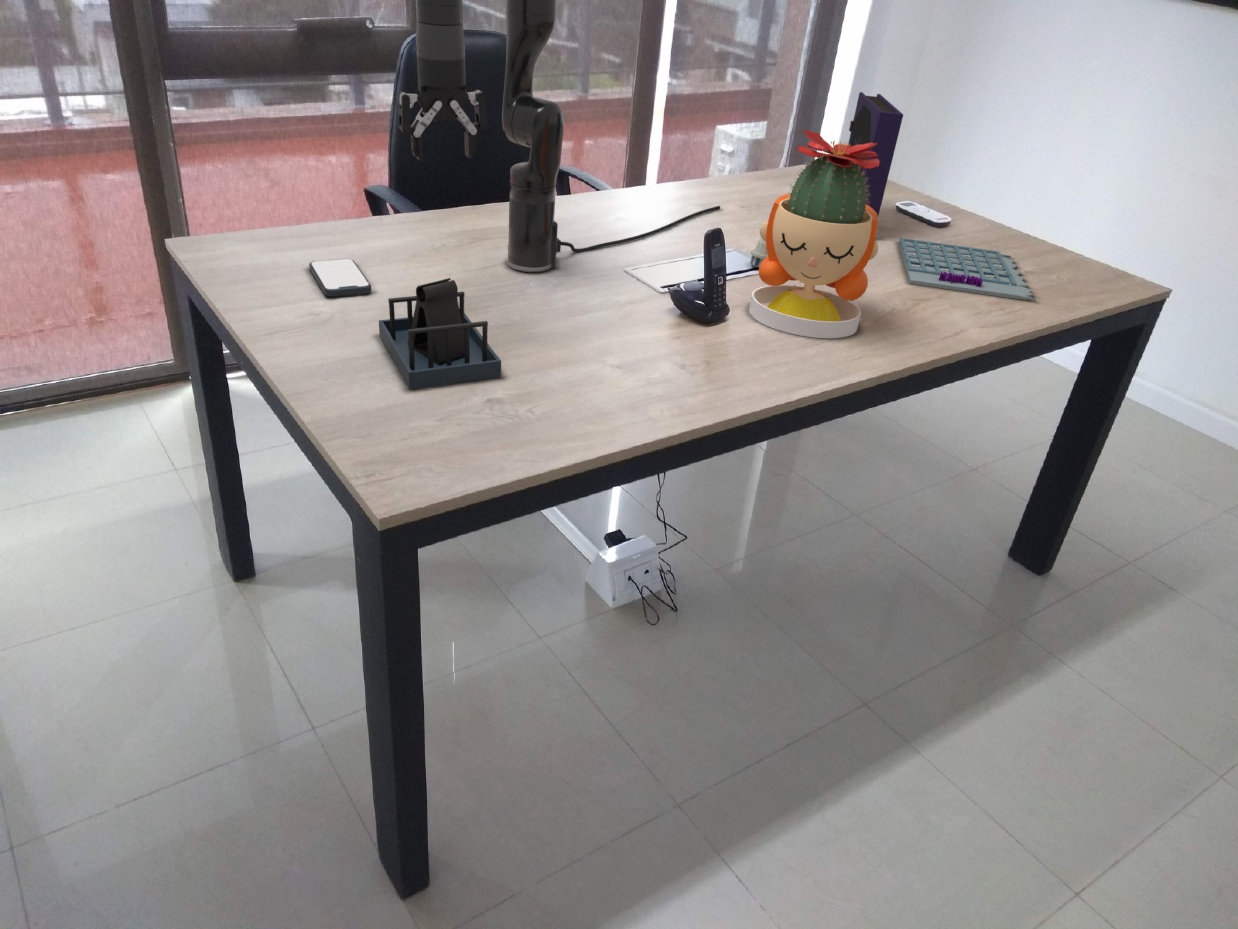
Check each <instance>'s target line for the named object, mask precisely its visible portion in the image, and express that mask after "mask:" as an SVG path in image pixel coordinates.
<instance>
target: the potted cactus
mask: <svg viewBox="0 0 1238 929" xmlns="http://www.w3.org/2000/svg"><path fill="white" fill-rule="evenodd" d="M802 133H804V135H805V137H806V138H808V139H809V140H810V141H809V142H808V143H806V144H807V147H806V146H804V145H803V146H802V145H800V146H798V147H797V149H796V150H797V151H798V152H800V153H802V154H803V155H806V156H807V157H811V158H810V159H809V160H806V161H805V162H804V163H803V164H804V165H803V167H801V171H800V170H797V172H796V173H795V175H796V176H795V178H794V179H793V181H791V182H792V183H794V186H793V185H792V184H789V187H790V188H789V191H791V192H788V193H785V194H783V195H781V196H779V197H778V198H776V199H775V200H774V202H773V205H772V207H771V211H770V212H769V215H768V216H769V217H768V220H767V221H764V222H763V223H762V224H761V225H760V228H759V235H760V238H762V239H763V240H764V241H766V248H767V253H768V257H766V258H765V259H764V260H763V261H762V263H761V264H760V267H758V275H759V279H760V280H761V282H762V283H764V284H765V286H761V287H760V286H759V287H758V288H755V289H754V290H753V291H752V292H751V297H750V302H749V308H748V312H749V315H750V316H751V317H752V318H753V319H754V320H755V321H757V322H759V323H760V324H762V325H765V326H766V327H769V328H772V329H775V330H777V331H780V332H783V333H786V334H790V335H794V336H795V335H796V336H801V337H805V338H814V339H815V338H817V339H841V338H847V337H850V336H852V335H854V334H855V333H857V331H858V327H859V323H860V321H861V320H860V319H861V315H862V310H861V309H860V307H859V306H858V305H857V304H855V303H854V302H852V301H856V300H858V299H859V298H861V297H862V296H864V294H865V292H866V291H867V288H868V286H869V279H868V276H867V273H866V272H865V270H864V269H865V268H866V267H867V265H868V263H869V261H870V260H873V259H874V258H875V257H876V256H877V255H878V252H879V244H878V242H877V241H876V238H877V234H878V227H879V226H878V225H879V216H878V215H877V213H876V212H875V211H874V210H873V209H872V208H871V207H870V206H868V205H866V203H867V201H869V200H867V198H868V197H867V198H866V196H868V195H869V197H871V195H870V194H869V193H868V194H866V192H867V191H866V188H867V187H868V186H867V185H868V184H867V185H865V182H866V181H865V180H866V179H868V178H866V179H864V178H863V175H862V174H864V172H863V171H862V173H861V171H860V170H859V169H861V168H860V167H859V166H861V167H863V168H868V169H871V168H875V167H879V159H870V160H862V159H866V158H872V157H877V156H878V155H876V152H871V151H868V150H870V149H872V148H873V147H875V146H876V145H877V143H867V144H863V145H855V146H851V147H850V144H849V145H848V141H846V142H845V141H843V143H842V140H840V141H839V143H836V144H835V142H836V140H831V141H830V143H829V142H827V141H826V139H824V138H823V137H822V136H821V134H820V133H819V132H815V131H811V130H808V129H804V130H803V131H802ZM809 161H810V162H809ZM855 164H858V165H859V166H858V167H857V166H856V165H855ZM866 177H867V176H866ZM867 183H868V181H867ZM866 186H867V187H866ZM869 191H870V190H869ZM866 200H867V201H866ZM868 204H869V203H868ZM789 281H792V282H793V281H794V282H795V281H798V282H800V283H802V284H804V285H803V286H797V285H787V284H786V283H787V282H789ZM785 284H786V285H785ZM824 285H825V286H827V287H828V288H832V289H834V290H835V292H836V294H837V295H836V294H834V293H831V292H829V291H824V290H820V289H816V286H824Z"/></svg>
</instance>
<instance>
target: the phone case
mask: <svg viewBox="0 0 1238 929" xmlns="http://www.w3.org/2000/svg"><path fill="white" fill-rule="evenodd" d="M308 266H309V270H310V272H311V274H312V275H313V277H314V279H315V280H316V282H317V284H318V286H319V287H320V289H321V291H322V293H323V294H324V296H326V297H339V296H352V295H361V294H369V293H371V291H372V285H371V283H370V281H369V280H368V279H367V277H366V276H365V274H364V273H363V272H362V270H361V269H360V267H359V266H358V264H357V263H356V261H355V260H354V259H352V258H340V259H339V258H337V259H328V260H317V261H316V260H315V261H311V262H309V264H308Z"/></svg>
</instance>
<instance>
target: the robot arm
mask: <svg viewBox="0 0 1238 929" xmlns="http://www.w3.org/2000/svg"><path fill="white" fill-rule="evenodd" d="M415 11H416V12H415V13H416V14H415V15H416V30H415V52H416V67H417V68H416V69H417V70H416V71H417V91H416V93H406V92H405V91H403V90H402V91H401V90H400V91H399V93H398V94H397V96H398V102H397V103H398V104H397V105H398V112H397V113H398V117H397V118H398V119H397V120H398V122H397V123H398V124H397V125H398V129H399V130H400V131H401V132H402V133H403V134H405V135H409V136H410V150H411V153H412V155H413V156H414V157H415V158H416V160H418V161H423V160H424V149H423V148H424V147H423V137H422V134H423V133H424V131H425V129H426V128H428V127H429V126H430V124H431V122H432V121H434V122H436V123H439V122H444V121H447V122H455V120H458V121H459V122H460V124H461V125H462V126H463V128H464V129H465V131H464V133H463V137H464V155H465V157H467V158H468V159H469V158H473V157H474V154H476V152H477V134H478V133H479V132H481V131H486V130H487V129H488V120H487V119H488V118H487V117H488V116H487V104H486V103H487V102H486V94H485V93H484V92H483V91H482V90H479V89H474V91H467V89H466V88H467V87H466V86H467V85H466V84H467V81H466V80H467V79H466V38H465V31H464V18H463V17H464V15H463V0H415ZM557 12H558V0H505V21H506V22H505V23H506V40H505V44H506V45H505V72H504V85H503V95H502V106H501V107H502V108H501V109H502V110H501V124H502V130H503V133H504V136H505V137H506V139H507V140H508V141H509V142H511V143H512V144H516V145H518V146H523V147H526V148H530V152H529V158H528V161H523V162H518V163H515V164H513V165H512V166H511V167H510V170H509V193H508V194H509V200H508V202H509V204H508V242H507V243H508V244H507V266H508V267H510V268H511V269H513V270H515V271H519V272H524V273H541V272H547V271H549V270H550V269H556V264H557V253H561V250H562V249H561V248H562V247H561V246H565V247H569V248H570V250H571V251H572V252H573V253H584V252H588V251H593V250H597V249H600V248H605V247H611V246H616V245H619V244H620V245H621V244H625V243H629V242H632V241H636V240H640V239H643V238H646V237H649V236H652V235H655V234H657V233H660V232H663V231H665V230H667V229H670V228H672V227H674V226H676V225H678V224H680V223H683V222H685V221H687V220H690V219H692V218H695V217H697V216H701V215H703V214H707V213H709V212H713V211H717V210H720V209H721V206H720V205H717V206H712V207H710V208H706V209H705V208H704V209H703V210H700V211H696V212H693V213H691V214H689V215H687V216H684V217H682V218H679V219H677V220H675V221H673V222H671V223H668V224H667V225H663V226H661V227H658V228H656V229H653V230H651V231H648V232H644V233H641V234H639V235H634V236H631V237H627V238H622V239H618V240H613V241H608V242H603V243H597V244H595V245H591V246H588V247H582V248H575V246H574V244H572V243H571V242H567V241H562V240H561V239H560V238H559V237H558V228H559V227H558V226H559V224H558V222H557V221H556V220H555V214H556V211H555V209H556V191H557V190H556V188H557V187H556V186H557V178H558V174H559V171H560V167H561V161H562V160H561V159H562V149H563V142H564V129H565V120H564V114H563V110H562V108H561V106H560V105H559V104H558V103H557V102H555V101H552V100H549V99H545V98H541V97H537V96H534V76H535V70H536V66H537V63H538V60H539V58H540V56H541V55H542V52H543V51H544V49H545V48H546V45H547V44H548V42H549V40H550V39H551V37H552V35H553V32H554V31H555V27H556V24H557V16H558V13H557ZM469 100H470V104H471V105H472V106H474V108H473V109H474V120H475V121H474V122H472V121H471V119H470V118H469V116H468V115H467V114H466V112H465V111H464V109H465V107H466V105H467V104H468V102H469ZM416 102H417V104H418V105H419V106H420V107H421V108H420V110H419V111H418V113H417V114H416V116H415V119H414V121H413V122H412V124H411V109H413V108H414V104H415V103H416Z"/></svg>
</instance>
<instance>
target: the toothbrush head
mask: <svg viewBox="0 0 1238 929" xmlns="http://www.w3.org/2000/svg"><path fill="white" fill-rule="evenodd" d="M750 255H751V256H750V260H749V263H750V265H752V266H753V267H756V268H759V267H760V264H761V263H762V261H763V260H764V259H765V258H766V257H768V253H767V248H766V241H764V240H763V239H762V238H761V237H760V238H759V240H757V243H756V246H755V249H754V248H753V249H751V250H750Z"/></svg>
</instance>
